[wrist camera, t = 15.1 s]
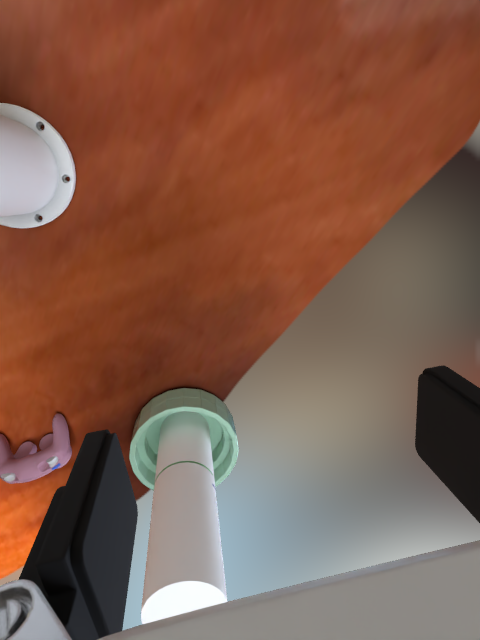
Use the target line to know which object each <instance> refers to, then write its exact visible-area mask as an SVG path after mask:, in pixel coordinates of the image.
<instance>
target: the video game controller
mask: <svg viewBox="0 0 480 640" xmlns="http://www.w3.org/2000/svg"><path fill="white" fill-rule="evenodd" d="M52 425H53V434H48V435H46V436H44V437H43V438H42V439H41V441H40V443H39V447H40V449H41V450H42V451H39V452H37V446H36V445H35V444H33V443H32V442H25V443H23V444H22V445H21V446H20V447H19V449H18V450H17V452H16V454H15V455H14V454H13V453H12V451H11V449H10V446H9V443H8V441H7V439H6V437H5V436H4V435H3V434H0V478H1V479H2V480H4V481H6V482H8V483H11V484H13V483H24V482H28V481H32V480H35V479H37V478H40V477H42V476H44V475H46V474H48V473H50V472H51V471H53V470H54V469H58V468H61V467H62V466H64V465H65V464H66V463H67V462H68V461H69V459H70V457H71V454H72V449H71V447H70V439H69V431H68V426H67V423H66V420H65V418H64V417H63V415H62V414H56V415H55V416H54V418H53V423H52ZM36 452H37V453H36Z"/></svg>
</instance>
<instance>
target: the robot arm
mask: <svg viewBox="0 0 480 640" xmlns="http://www.w3.org/2000/svg"><path fill="white" fill-rule="evenodd" d="M42 125H44V126H45V128H44V130H42V129H41V126H42ZM66 177H69V178H70V181H67V180H66ZM75 182H76V173H75V165H74V162H73V158H72V155H71V152H70V150H69V148H68V146H67V144H66V142H65V141H64V140H63V138H62V137H61V135H60V134H59V133H58V132H57V130H56V129H55V128H54V127H53V126H52V125H51V124H50V123H48V122H47V121H46V120H44V119H43V118H42V117H40V116H39V115H37V114H35V113H33V112H32V111H30V110H27V109H25V108H22V107H20V106H17V105H12V104H8V103H0V225H4V226H8V227H12V228H32V227H38V226H42V225H44V224H46V223H49V222H51V221H53V220H54V219H56V218H57V217H58V216H60V215H61V214H62V213H63V211H64V210H65V209H66V208H67V206H68V205H69V203H70V201H71V199H72V196H73V193H74V190H75ZM39 216H42V218H43V219H42V220H40V219H39ZM415 440H416V441H415V447H416V450H417V453H418V455H419V456H420V457H421V459H422V460H423V461H424V462H425V463H426V464H427V465H428V466H429V467H430V469H431V470H432V471H433V472H434V473H435V474H436V475H437V476H438V477H439V479H440V480H441V481H442V482H443V483H444V484H445V485H446V486H447V487H448V488H449V489H450V491H451V492H452V493H453V494H454V495H455V496H456V497H457V498H458V500H459V501H460V502H461V503H462V504H463V505H464V506H465V507H466V508H467V509H468V511H469V512H470V513H471V514H472V515H473V516H474V517H475V518H476V520H477V521H478V522H479V523H480V388H479V387H477V386H475V385H474V384H472V383H471V382H469V381H468V380H466V379H465V378H463V377H462V376H460V375H459V374H457V373H456V372H454V371H453V370H451V369H450V368H448V367H446V366H438V367H433V368H427V369H425V370H424V371H423V374H421V375H420V376H419V379H418V400H417V419H416V439H415ZM137 516H138V512H137V504H136V500H135V497H134V493H133V490H132V486H131V483H130V479H129V476H128V472H127V469H126V465H125V462H124V458H123V455H122V451H121V448H120V444H119V440H118V437H117V435H116V433H113V434H110V432H109V430H102V431H96V432H91V433H87V434H86V436H85V438H84V441H83V443H82V446H81V448H80V451H79V453H78V456H77V458H76V461H75V463H74V466H73V468H72V471H71V473H70V476H69V479H68V481H67V484H66V486H63V487H60V488H58V489H57V491H56V493H55V494H54V497H53V499H52V501H51V504H50V506H49V509H48V511H47V513H46V516H45V518H44V520H43V523H42V525H41V528H40V530H39V532H38V535H37V537H36V539H35V542H34V544H33V547H32V549H31V551H30V554H29V556H28V558H27V561H26V563H25V566H24V568H23V570H22V573H21V575H20V577H19V580H15V581H11V582H8V583H6V584H3V585H1V586H0V640H480V540H479V541H475V542H471V543H467V544H463V545H458V546H454V547H450V548H445V549H442V550H437V551H433V552H428V553H424V554H420V555H416V556H412V557H408V558H404V559H400V560H396V561H392V562H387V563H383V564H379V565H375V566H371V567H366V568H363V569H359V570H354V571H350V572H346V573H342V574H338V575H334V576H330V577H326V578H322V579H317V580H313V581H309V582H306V583H301V584H297V585H293V586H289V587H285V588H281V589H277V590H273V591H270V592H265V593H261V594H257V595H253V596H249V597H245V598H241V599H237V600H233V601H229V602H225V603H221V604H217V605H213V606H209V607H205V608H202V609H198V610H194V611H191V612H187V613H183V614H179V615H176V616H172V617H168V618H165V619H161V620H157V621H153V622H150V623H146V624H142V625H139V626H136V627H133V628H130V629H127V630H124V631H122V627H123V619H124V612H125V605H126V598H127V591H128V583H129V575H130V568H131V561H132V554H133V546H134V539H135V532H136V524H137Z"/></svg>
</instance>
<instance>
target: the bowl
mask: <svg viewBox="0 0 480 640" xmlns="http://www.w3.org/2000/svg"><path fill="white" fill-rule="evenodd" d="M182 411H188V412H197V413H199V414H200V415H202V416H203V417H204V418H205V419H206V421H207V422H208V425H209V431H210V441H211V450H212V460H213V470H214V479H215V487H216V486H218V485H219V484H220V483H221V482H222V481H223V480H224V479H225V478H227V477H228V476H229V474H230V472H231V471H232V469H233V467H234V466H235V464H236V461H237V456H238V451H239V448H238V442H237V436H236V431H235V426H234V422H233V417H232V415H231V414H230V412H229V410H228V408H227V406H226V405H225V404H224V403H223V402H222V401H221V400H220V399H218V398H217V397H216V396H215V395H213V394H210V393H208V392H205V391H203V390H200V389H189V388H181V389H176V390H170V391H167V392H165V393H163V394H161V395H159V396H157V397H155V398H153V399H152V400H151V401H150V402H149V403H148V404H147V405H146V406H145V407H144V408H142V410H141V412H140V414H139V416H138V418H137V420H136V422H135V426H134V431H133V435H132V440H131V446H130V455H129V459H130V462H131V466H132V469H133V472H134V473H135V475H136V476H137V477H138V479H139V480H140V481H141V482H142V483H143V484H144V485H146V486H147V487H149V488H150V489H152V490H153V491H154V485H155V475H156V465H157V456H158V446H159V436H160V429H161V425H162V423H163V421H164V420H165V419H166V418H167V417H168V416H169V415H171V414H173V413H176V412H182Z"/></svg>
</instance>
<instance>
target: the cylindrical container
mask: <svg viewBox="0 0 480 640" xmlns="http://www.w3.org/2000/svg"><path fill="white" fill-rule="evenodd" d="M225 602H227V594H226V584H225V575H224V566H223V556H222V548H221V538H220V527H219V518H218V508H217V499H216V489H215V479H214V470H213V460H212V450H211V441H210V431H209V425H208V422H207V421H206V419H205V418H204V417H203V416H202V415H200V414H199V413H197V412H188V411H182V412H176V413H173V414H171V415H169V416H168V417H167V418H166V419H165V420H164V421H163V423H162V425H161V429H160V436H159V446H158V456H157V465H156V475H155V485H154V494H153V504H152V514H151V523H150V532H149V542H148V552H147V561H146V571H145V580H144V590H143V599H142V610H141V621H142V624H146V623H150V622H153V621H157V620H161V619H165V618H168V617H172V616H176V615H179V614H183V613H187V612H191V611H194V610H198V609H202V608H205V607H209V606H213V605H217V604H221V603H225Z"/></svg>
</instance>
